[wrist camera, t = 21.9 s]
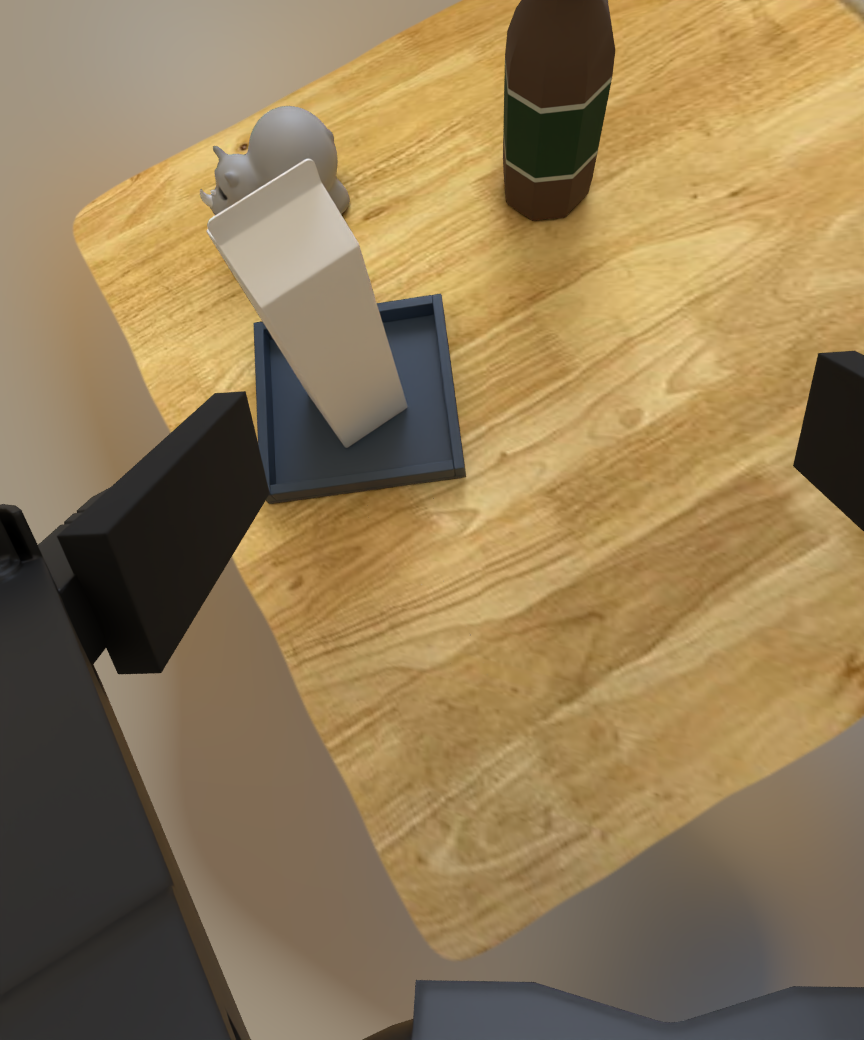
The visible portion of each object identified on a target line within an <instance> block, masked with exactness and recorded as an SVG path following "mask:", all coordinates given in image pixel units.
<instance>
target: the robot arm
mask: <svg viewBox="0 0 864 1040" xmlns="http://www.w3.org/2000/svg"><path fill="white" fill-rule="evenodd" d="M793 466H794V467H795V468H796V469H797V470H798V471H799V472H800V473H801V474H802V475H803V476H804V477H805V478H807V479H808V480H809V481H810V482H811V483H812V484H813V485H814V486H815V487H816V488H817V489H818V490H819V491H821V492H822V493H823V494H824V495H825V496H826V497H827V498H828V499H829V500H830V501H831V502H832V503H833V504H835V505H836V506H837V507H838V508H839V509H840V510H841V511H842V512H843V513H844V514H845V515H846V516H847V517H849V518H850V519H851V520H852V521H853V522H854V523H855V524H856V525H857V526H858V527H859V528H860V529H861V530H863V531H864V355H862V354H860V353H858V352H856V351H845V352H830V353H818V357H817V362H816V366H815V371H814V375H813V380H812V384H811V389H810V393H809V398H808V402H807V406H806V411H805V415H804V420H803V424H802V429H801V433H800V438H799V442H798V447H797V451H796V456H795V460H794V465H793ZM269 494H270V492H269V488H268V484H267V480H266V475H265V471H264V467H263V463H262V459H261V454H260V450H259V446H258V442H257V438H256V433H255V429H254V425H253V421H252V417H251V412H250V408H249V404H248V400H247V396H246V391H244V392H229V393H215V394H214V395H212V396H211V397H210V398H209V399H208V400H207V401H206V402H205V403H204V404H202V405H201V406H200V407H199V408H198V409H197V410H196V411H195V412H194V413H192V414H191V415H190V416H189V417H188V418H187V419H186V420H185V421H184V422H183V423H181V424H180V425H179V426H178V427H177V428H176V429H175V430H174V431H173V432H171V433H170V434H169V435H168V436H167V437H166V438H165V439H164V440H163V441H161V442H160V443H159V444H158V445H157V446H156V447H155V448H154V449H153V450H151V451H150V452H149V453H148V454H147V455H146V456H145V457H144V458H143V459H142V460H140V461H139V462H138V463H137V464H136V465H135V466H134V467H133V468H132V469H131V470H129V471H128V472H127V473H126V474H125V475H124V476H123V477H122V478H120V480H118V481H117V482H116V483H115V484H114V485H113V486H112V487H110V488H108V489H106V490H105V491H103V492H101V493H99V494H97V495H95V496H93V497H92V498H91V499H89V500H88V501H87V502H86V503H85V504H84V505H83V506H81V507H80V508H79V509H78V510H77V513H74V514H72V515H71V516H70V517H69V518H68V519H67V520H66V521H65V522H64V525H60V526H59V527H58V528H57V529H55V530H54V531H53V532H52V533H51V534H50V535H49V536H48V537H46V538H45V539H44V540H43V541H42V542H41V543H40V544H38V545H37V543H36V540H35V538H34V536H33V534H32V532H31V530H30V528H29V525H28V523H27V521H26V519H25V517H24V515H23V513H22V510H21V509H19V508H18V507H17V506H14V505H5V504H2V505H0V1040H251V1039H250V1037H249V1034H248V1032H247V1030H246V1027H245V1025H244V1023H243V1020H242V1018H241V1015H240V1013H239V1011H238V1008H237V1006H236V1004H235V1001H234V999H233V996H232V994H231V991H230V989H229V987H228V984H227V982H226V980H225V977H224V975H223V972H222V970H221V968H220V965H219V963H218V960H217V958H216V955H215V953H214V951H213V948H212V946H211V943H210V941H209V939H208V936H207V934H206V932H205V929H204V927H203V924H202V922H201V920H200V917H199V915H198V912H197V910H196V908H195V905H194V903H193V900H192V898H191V896H190V893H189V891H188V888H187V886H186V884H185V881H184V879H183V876H182V874H181V872H180V869H179V867H178V865H177V862H176V860H175V858H174V855H173V853H172V850H171V848H170V845H169V843H168V841H167V838H166V836H165V833H164V831H163V829H162V826H161V824H160V821H159V819H158V817H157V814H156V812H155V810H154V807H153V805H152V802H151V800H150V797H149V795H148V793H147V790H146V788H145V786H144V783H143V781H142V778H141V776H140V774H139V771H138V769H137V766H136V764H135V762H134V759H133V757H132V755H131V752H130V749H129V747H128V745H127V742H126V740H125V737H124V735H123V733H122V730H121V728H120V726H119V723H118V721H117V718H116V716H115V714H114V711H113V709H112V706H111V704H110V702H109V699H108V697H107V695H106V692H105V690H104V687H103V685H102V682H101V680H100V678H99V676H98V674H97V671H96V669H95V667H94V665H93V664H94V662H95V661H96V660H97V659H98V657H99V656H100V655H101V653H102V652H103V651H104V649H105V648H107V650H108V653H109V655H110V657H111V659H112V661H113V664H114V666H115V668H116V671H117V673H118V674H147V673H161V672H162V671H163V669H164V667H165V666H166V664H167V663H168V661H169V659H170V658H171V656H172V654H173V653H174V651H175V649H176V648H177V646H178V644H179V643H180V641H181V639H182V638H183V636H184V634H185V633H186V631H187V629H188V628H189V626H190V625H191V623H192V621H193V619H194V618H195V616H196V615H197V613H198V611H199V610H200V608H201V606H202V604H203V603H204V601H205V600H206V598H207V596H208V595H209V593H210V591H211V590H212V588H213V586H214V585H215V583H216V581H217V580H218V578H219V577H220V575H221V573H222V572H223V570H224V568H225V566H226V565H227V563H228V562H229V560H230V558H231V557H232V555H233V553H234V552H235V550H236V548H237V547H238V545H239V543H240V542H241V540H242V538H243V537H244V535H245V533H246V532H247V530H248V529H249V527H250V525H251V524H252V522H253V520H254V519H255V517H256V515H257V514H258V512H259V510H260V509H261V507H262V505H263V504H264V502H265V500H266V499H267V497H268V495H269ZM413 1017H414V1018H413V1019H411V1020H408V1021H405V1022H401V1023H398V1024H395V1025H392V1026H390V1027H388V1028H386V1029H384V1030H382V1031H379V1032H377V1033H375V1034H373V1035H371V1036H369V1037H367V1038H365V1039H363V1040H864V987H861V988H860V987H802V986H801V987H800V986H797V987H796V986H793V987H790V988H787V989H783V990H780V991H777V992H774V993H771V994H768V995H765V996H761V997H758V998H755V999H752V1000H749V1001H745V1002H742V1003H739V1004H736V1005H732V1006H730V1007H726V1008H723V1009H720V1010H717V1011H713V1012H710V1013H707V1014H704V1015H701V1016H698V1017H694V1018H691V1019H688V1020H685V1021H680V1022H672V1023H670V1022H661V1021H658V1020H654V1019H651V1018H647V1017H644V1016H641V1015H638V1014H635V1013H631V1012H628V1011H625V1010H622V1009H618V1008H615V1007H612V1006H609V1005H605V1004H602V1003H599V1002H596V1001H593V1000H590V999H586V998H583V997H580V996H577V995H574V994H570V993H567V992H564V991H561V990H558V989H554V988H551V987H548V986H545V985H541V984H538V983H535V982H493V981H489V982H488V981H432V980H429V981H428V980H416V985H415V1001H414V1016H413Z"/></svg>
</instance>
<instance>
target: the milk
mask: <svg viewBox="0 0 864 1040" xmlns="http://www.w3.org/2000/svg"><path fill="white" fill-rule="evenodd" d="M207 226H208V230H207V233H208V235H209V236H210V238H211V240H212V241H213V243H214V244H215V246H216V248H217V249H218V251H219V252H220V254H221V256H222V257H223V259H224V260H225V262H226V264H227V265H228V267H229V268H230V270H231V272H232V273H233V275H234V277H235V278H236V280H237V281H238V283H239V285H240V286H241V288H242V289H243V291H244V293H245V294H246V296H247V297H248V299H249V301H250V302H251V304H252V305H253V307H254V309H255V310H256V312H257V313H258V315H259V317H260V318H261V320H262V321H263V323H264V325H265V326H266V328H267V329H268V331H269V333H270V334H271V336H272V338H273V339H274V341H275V342H276V344H277V346H278V347H279V349H280V350H281V352H282V354H283V355H284V357H285V358H286V360H287V362H288V363H289V365H290V366H291V368H292V370H293V371H294V373H295V374H296V376H297V378H298V379H299V381H300V382H301V384H302V386H303V387H304V389H305V390H306V392H307V394H308V395H309V397H310V398H311V399H312V401H313V402H314V404H315V405H316V407H317V408H318V409H319V411H320V412H321V414H322V415H323V417H324V418H325V420H326V421H327V422H328V424H329V425H330V427H331V428H332V430H333V431H334V432H335V434H336V435H337V437H338V438H339V440H340V441H341V442H342V444H343V445H344V447H345V448H348V447H349V446H351V445H352V444H354V443H355V442H357V441H358V440H360V439H361V438H363V437H364V436H366V435H367V434H369V433H370V432H372V431H373V430H375V429H376V428H378V427H379V426H381V425H382V424H384V423H385V422H387V421H388V420H390V419H391V418H393V417H394V416H396V415H397V414H399V413H400V412H402V411H403V410H405V409H406V408H407V403H406V400H405V396H404V393H403V390H402V386H401V383H400V380H399V376H398V373H397V370H396V366H395V363H394V359H393V356H392V353H391V349H390V346H389V343H388V339H387V336H386V333H385V329H384V326H383V323H382V319H381V316H380V313H379V309H378V306H377V303H376V299H375V296H374V293H373V289H372V286H371V283H370V279H369V276H368V273H367V269H366V266H365V263H364V259H363V256H362V253H361V249H360V246H359V243H358V241H357V240H356V238H355V236H354V235H353V233H352V232H351V230H350V228H349V227H348V225H347V223H346V222H345V220H344V218H343V217H342V215H341V214H340V212H339V210H338V209H337V207H336V205H335V204H334V202H333V200H332V199H331V197H330V195H329V194H328V192H327V191H326V189H325V187H324V186H323V184H322V182H321V180H320V177H319V174H318V171H317V168H316V165H315V163H314V161H313V160H311V159H305V160H304V161H302V162H300V163H299V164H297V165H296V166H294V167H292V168H291V169H289V170H288V171H286V172H284V173H283V174H281V175H279V176H278V177H276V178H275V179H273V180H271V181H270V182H268V183H267V184H265V185H263V186H262V187H260V188H259V189H257V190H255V191H254V192H252V193H251V194H249V195H247V196H246V197H244V198H243V199H241V200H239V201H238V202H236V203H235V204H233V205H231V206H230V207H228V208H227V209H225V210H223V211H222V212H220V213H218V214H217V215H215V216H214V217H212V218H211V219H210V220H209V221H208V224H207Z"/></svg>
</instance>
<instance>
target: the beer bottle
mask: <svg viewBox="0 0 864 1040" xmlns="http://www.w3.org/2000/svg"><path fill="white" fill-rule="evenodd" d="M614 57H615V45H614V38H613V32H612V25H611V19H610V12H609V6H608V0H521V2H520V3H519V5H518V6H517V7H516V10H515V12H514V15H513V18H512V20H511V23H510V25H509V28H508V31H507V42H506V52H505V85H504V134H503V168H504V183H505V194H506V202H507V204H508V205H510V206H511V207H513V208H514V209H516V210H517V211H519V212H520V213H522V214H523V215H525V216H526V217H528V218H529V219H531V220H532V221H534V220H544V219H554V218H564V217H566V215H567V214H568V213H569V212H570V211H571V210H572V209H573V208H574V207H575V206H576V205H577V204H578V203H579V202H580V201H581V200H582V199H583V198H584V197H585V196H586V195H587V194H588V192H589V188H590V185H591V181H592V177H593V172H594V167H595V162H596V157H597V152H598V147H599V141H600V136H601V131H602V126H603V121H604V116H605V111H606V106H607V101H608V95H609V90H610V85H611V80H612V74H613V65H614Z"/></svg>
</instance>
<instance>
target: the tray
mask: <svg viewBox="0 0 864 1040" xmlns="http://www.w3.org/2000/svg"><path fill="white" fill-rule="evenodd" d="M377 306H378V309H379V313H380V316H381V319H382V323H383V326H384V329H385V333H386V336H387V339H388V343H389V346H390V349H391V353H392V356H393V359H394V363H395V366H396V370H397V373H398V376H399V380H400V383H401V386H402V390H403V393H404V396H405V400H406V403H407V408H406V409H405V410H403V411H402V412H400V413H399V414H397V415H396V416H394V417H393V418H391V419H390V420H388V421H387V422H385V423H384V424H382V425H381V426H379V427H378V428H376V429H375V430H373V431H372V432H370V433H369V434H367V435H366V436H364V437H363V438H361V439H360V440H358V441H357V442H355V443H354V444H352V445H351V446H349V447H348V448H345V447H344V445H343V444H342V442H341V441H340V440H339V438H338V437H337V435H336V434H335V432H334V431H333V430H332V428H331V427H330V425H329V424H328V422H327V421H326V420H325V418H324V417H323V415H322V414H321V412H320V411H319V409H318V408H317V407H316V405H315V404H314V402H313V401H312V399H311V398H310V397H309V395H308V394H307V392H306V390H305V389H304V387H303V386H302V384H301V382H300V381H299V379H298V378H297V376H296V374H295V373H294V371H293V370H292V368H291V366H290V365H289V363H288V362H287V360H286V358H285V357H284V355H283V354H282V352H281V350H280V349H279V347H278V346H277V344H276V342H275V341H274V339H273V338H272V336H271V334H270V333H269V331H268V329H267V328H266V326H265V325H264V323H263V322H256V323H254V346H255V373H256V400H257V426H258V446H259V450H260V454H261V459H262V463H263V467H264V471H265V475H266V480H267V484H268V488H269V492H270V494H269V495H268V497H267V499H266V501H267V502H268V503H269V504H273V503H280V502H287V501H294V500H302V499H309V498H316V497H324V496H331V495H338V494H345V493H353V492H360V491H367V490H375V489H382V488H389V487H396V486H404V485H411V484H418V483H426V482H433V481H440V480H447V479H455V478H462V477H466V474H465V466H464V458H463V451H462V443H461V436H460V428H459V421H458V414H457V406H456V399H455V391H454V384H453V376H452V369H451V361H450V354H449V347H448V339H447V332H446V324H445V317H444V309H443V302H442V295H441V294H436V295H432V296H431V295H428V296H422V297H415V298H409V299H403V300H396V301H390V302H383V303H377Z"/></svg>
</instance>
